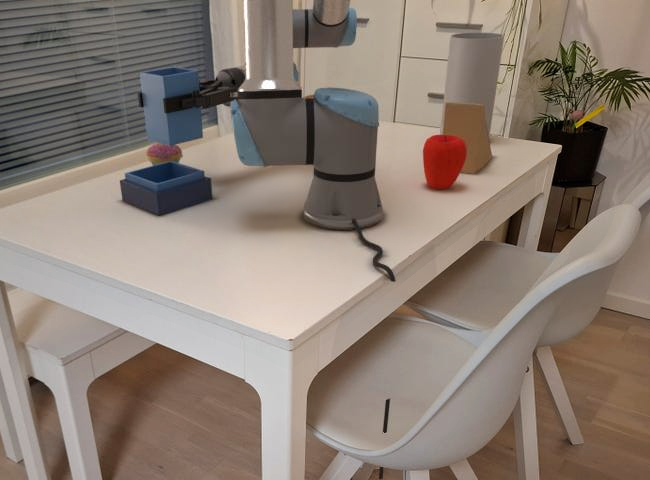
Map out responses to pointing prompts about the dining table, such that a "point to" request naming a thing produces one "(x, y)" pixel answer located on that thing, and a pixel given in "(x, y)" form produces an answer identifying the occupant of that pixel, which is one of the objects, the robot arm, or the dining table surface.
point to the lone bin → (173, 124)
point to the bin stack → (165, 187)
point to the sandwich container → (469, 132)
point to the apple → (443, 160)
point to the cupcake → (163, 153)
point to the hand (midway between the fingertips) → (151, 103)
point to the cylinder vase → (473, 71)
